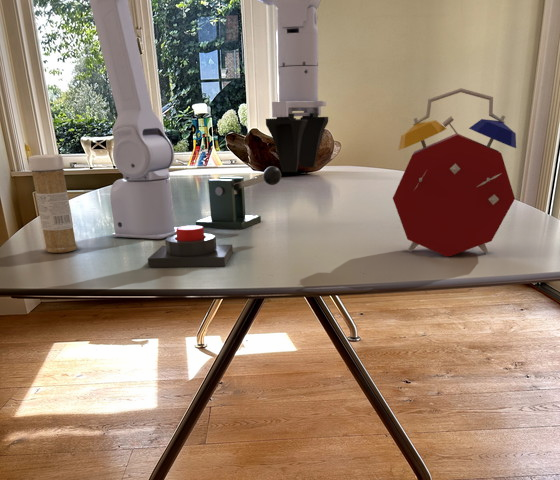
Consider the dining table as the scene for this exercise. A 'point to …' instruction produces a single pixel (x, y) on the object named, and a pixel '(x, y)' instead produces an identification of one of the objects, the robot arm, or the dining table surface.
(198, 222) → the bracket
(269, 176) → the lever
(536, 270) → the dining table surface
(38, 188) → the sprinkles bottle
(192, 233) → the button
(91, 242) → the dining table surface
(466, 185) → the alarm clock
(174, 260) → the button box
